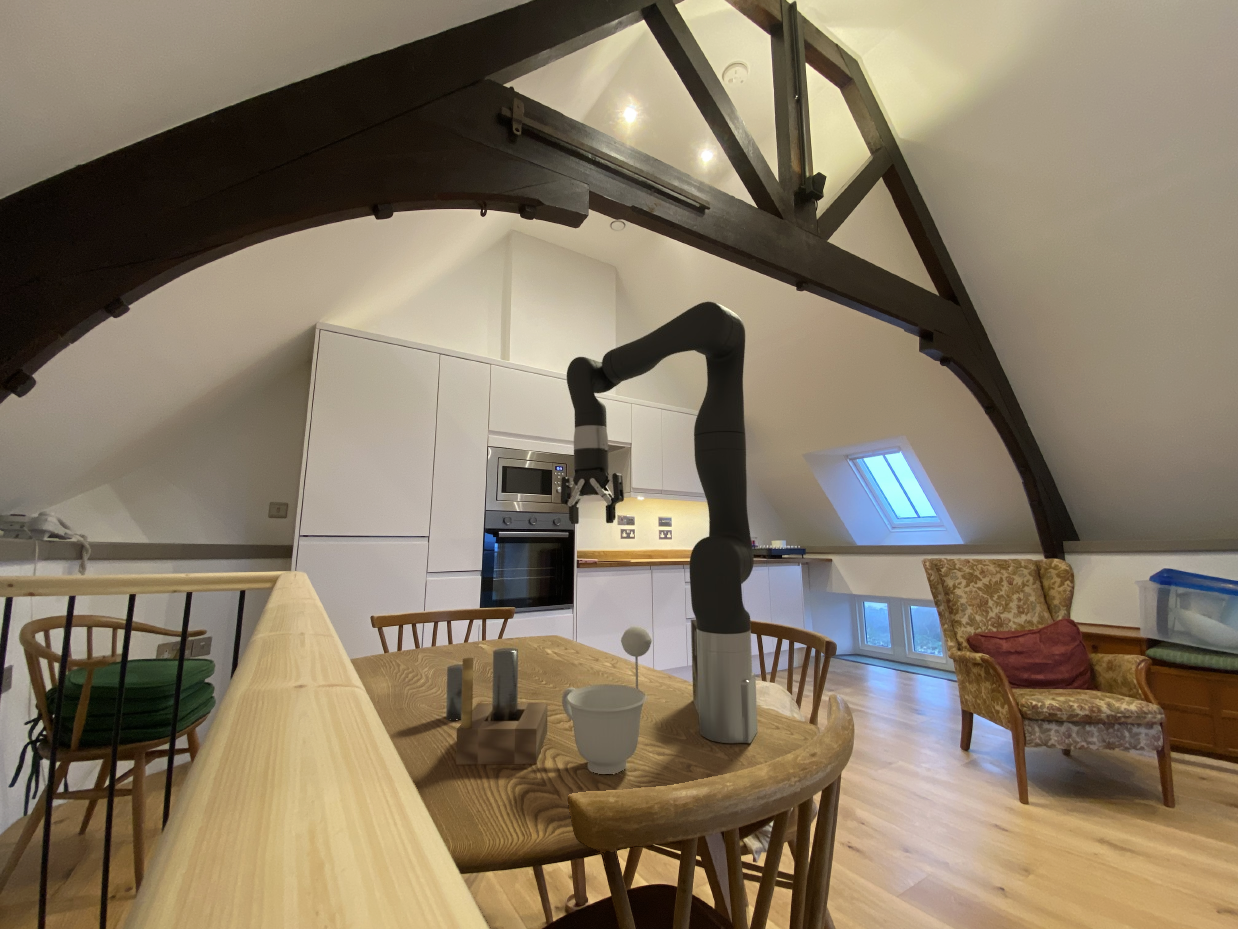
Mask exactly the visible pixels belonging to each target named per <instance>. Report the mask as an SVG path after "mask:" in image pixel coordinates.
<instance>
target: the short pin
mask: <svg viewBox="0 0 1238 929" xmlns="http://www.w3.org/2000/svg"><path fill="white" fill-rule="evenodd" d="M462 665H463V663H459V664H457V663H456V664H451V665H449V666H447V669H446V670H447V671H446V703H445V704H446V705H445V706H446V708H445V714H446V716H445V719H446V718H447V719H451V720H456V719H461V711H462ZM447 719H446V720H447ZM451 720H450V721H451ZM456 721H457V720H456Z"/></svg>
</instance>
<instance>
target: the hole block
mask: <svg viewBox="0 0 1238 929" xmlns="http://www.w3.org/2000/svg"><path fill="white" fill-rule="evenodd" d="M462 664H463V665H462V711H461V720H460V721H461V722H460V725H459V726H458V728H456V743H455V744H456V746H455V748H456V750H455V752H456V753H455V765H533V764H534V765H537V763H538V760H539V757H540V754H541V751H542V750H543V747H542V746H544V744H545V741H546V738H547V735H548V702H518V719H517V721H492V702H479V703H478V702H477V704H476V705H475V706H474V708H473V703H474V702H473V700H474V699H473V698H474V696H473V694H474V693H473V691H474V684H473V683H474V658H473V657H465V658H462ZM544 740H545V741H544ZM543 743H544V744H543Z"/></svg>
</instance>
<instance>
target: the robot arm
mask: <svg viewBox="0 0 1238 929" xmlns="http://www.w3.org/2000/svg"><path fill="white" fill-rule="evenodd" d="M745 350H746V329H745V325H744V322H743V320H742V319H741V318H740V316H739V315H738V314H737V313H735V312H733V311H732V310H731V309H729V308H727V307H725V306H723V305H722V304H720V303H717V302H715V301H708V300H707V301H704V302H701V303H698V304H696V305H694V306H692V307H690V308H688V309H687V310H685V311H684V312H682V313H680V314H679V315H678V316H676V317H674V318H672V319H671V320H670V321H668V322H666V323H665V324H663V325H661V326H659V327H658V328H656V329H655V330H653V331H652V332H649V333H648V334H646V335H644V336H642V337H640V338H638V339H635V340H633V341H630V342H628V343H626V344H623V345H619V346H618V347H615V348H612V349H611V350H609V351H607V352H606V353H605V354H604V355H603V356H602V360H601V361H597V360H595V359H592V358H589V357H585V356H577V357H575V358H573V359H572V360H571V361H570V362H569V365H568V366H567V370H566V384H567V388H568V389H567V390H568V392H569V394H570V399H571V404H572V406H573V409H574V433H573V470H574V476H573V477H570V476H569V477H568V476H562V477H561V487H560V503H561V505H562V504H563V505H566V506H567V507H568V519H569V522H570V523H571V525H578V524H579V523H580V520H579V517H580V515H579V514H580V513H579V512H580V511H579V509H580V508H579V504H580V503H581V501H582V500H583V499H584V498H585V497H586V496H588V497H590V496H600V497H601V498H602V499H603V500H604V501H605V503H606V505H605V522H606V524H614V521H615V520H616V517H617V516H616V512H617V511H616V506H617V504H619V503H622V502H624V500H625V494H624V482H623V475H622V474H621V473H617V472H614V473H612V474H609V466H610V465H609V464H610V463H609V446H610V445H609V438H608V431H607V430H608V429H607V426H608V424H607V423H608V422H607V406H606V405H605V404H604V403H603V401H601V400H599V399H598V398H597V396H596V394H603V393H607V392H609V391H611V390H612V389H614V388H616V387H617V386H618V385H619V384H621V383H622V382H624V381H625V382H626V381H627V380H630V379H633V378H637V377H639V376H642V375H644V374H646V373H648V372H650V371H651V370H653V369H654V368H655V367H656V366H657V365H659V363H660V362H661V361H663V360H664V359H665V358H668V357H670V356H672V355H676V354H678V353H679V354H680V353H684V352H691V351H693V352H694V351H695V352H696V353H699V354H701V355H703V356H704V357H705V360H706V361H705V362H706V375H707V376H706V377H707V381H706V382H707V385H706V392H705V395H704V397H703V400H702V402H701V405H700V408H699V410H698V412H697V415H696V419H695V422H694V428H693V444H694V446H693V447H694V449H693V450H694V462H695V468H696V472H697V475H698V478H699V482H700V483H701V486H702V490H703V493H704V495H705V496H704V497H705V499H706V503H707V508H708V517H709V520H708V522H709V523H708V525H709V527H708V530H709V531H708V536H706V537H703V538H701V539H700V540H699V541H697V542H696V544H695V545H694V546H693V548H692V550H691V553H690V558H689V566H688V567H689V586H690V587H689V588H690V599H691V600H690V601H691V609H692V613H693V615H694V617H695V620H696V624H697V664H698V702H699V714H698V727H699V728H698V729H699V734H700V736H702V737H703V738H705V739H707V740H709V741H712V742H717V743H724V744H740V743H746V744H752V741H753V740H754V738H755V736H756V734H757V733H758V708H757V707H758V706H757V705H758V704H757V684H756V682H757V679H756V677H757V676H756V673H755V672H753V660H752V658H753V656H752V635H751V634H752V633H751V631H752V630H751V629H752V628H751V627H752V626H751V614H750V612H749V611H748V610H746V608H745V606H744V603H743V590H742V589H743V588H742V584H743V583H745V582H747V580H748V579H749V577H750V576H751V574H752V571H753V569H754V563H755V562H754V559H755V558H754V551H753V545H752V544H753V543H752V537H751V536H752V535H751V531H750V524H749V517H748V516H749V515H748V502H747V501H748V499H747V497H748V492H747V491H748V485H747V483H748V482H747V480H748V479H747V439H746V436H747V435H746V426H745V402H744V401H745V400H744V365H745V353H746V352H745ZM609 482H610V483H611V484H612V491H613V492H611V490H610V489H609V488H608V486H607V485H609ZM573 486H576V487H575V489H574V490H573V491H572V488H573Z"/></svg>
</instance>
